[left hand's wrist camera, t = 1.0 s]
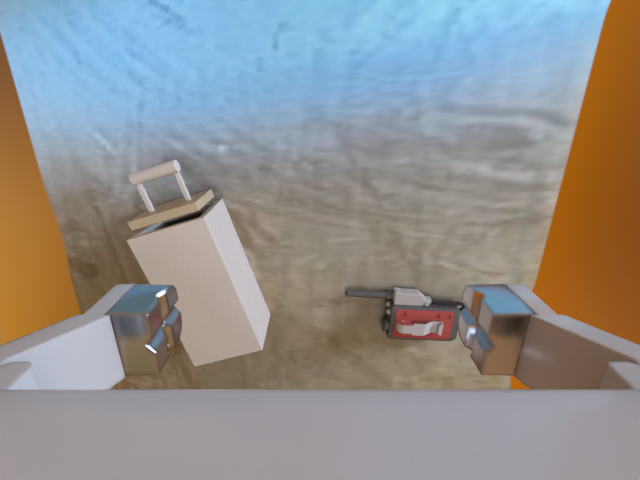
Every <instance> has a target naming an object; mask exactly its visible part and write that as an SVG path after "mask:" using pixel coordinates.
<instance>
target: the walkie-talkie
mask: <svg viewBox="0 0 640 480" xmlns="http://www.w3.org/2000/svg"><path fill="white" fill-rule="evenodd" d="M345 295H346V296H350V297H369V298H386V299H389V301H386V306H388V309H387V310H386V313H387V318H383V319H382V330H383V331H386V334H387V337H388V338H390V339H411V340H415V339H417V340H433V341H434V340H437V341H438V340H439V341H452V340H454V339H455V338H456V335H457V331H458V318H459V312H460V311H461V310H462V309H463V308H464V307H465V305H464V303H462V302H453V301H443V300H442V301H440V300H434V299H431V298H430V297H428V296H425V295H423V294H422V293H421V292H420V291H419V290H417V289H403V288H398V287H394V288H393V291H386V292H376V291H349V290H348V291H346V292H345ZM456 305H461V306H462V308H459V309H458V307H457V306H456Z"/></svg>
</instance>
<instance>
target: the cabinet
mask: <svg viewBox="0 0 640 480" xmlns="http://www.w3.org/2000/svg"><path fill="white" fill-rule="evenodd" d="M203 211H205V212H204V213H203V214H202V215H201V216H200V217H198V218H195V219H192V220H188V221H185V222H181V223H178V224H175V225H171V226H168V227H165V228H161V229H158V230H156V229H157V228H159V227H160V226H161V225H162V224H164V223H166V222H169V221H172V220H176V219H179V218H182V217H186V216H189V215H193V214H196V213H199V212H203ZM127 243H128V244H129V246H130V248H131V250H132V252H133V254H134V255H135V257H136V259H137V261H138V263H139V265H140V267H141V268H142V270H143V272H144V274H145V276H146V278H147V279H148V281H149V283H150V284H155V285H173V286H174V287H175V288H176V290H177V295H178V300H177V302H176V304H175V305H174V306H175V307H176V308H177V309H178V310H179V311H180V312H181V317H182V330H181V335H180V340H181V342H182V344H183V346H184V348H185V350H186V351H187V353H188V355H189V357H190V359H191V361H192V362H193V364H194V366H199V365H203V364H208V363H212V362H216V361H220V360H224V359H228V358H232V357H236V356H240V355H244V354H248V353H252V352H256V351H260V350H262V349H263V345H264V340H265V336H266V332H267V327H268V323H269V318H270V313H269V310H268V308H267V305H266V303H265V301H264V298H263V296H262V293H261V291H260V289H259V286H258V284H257V281H256V279H255V276H254V274H253V272H252V269H251V267H250V264H249V262H248V260H247V257H246V255H245V252H244V250H243V247H242V245H241V243H240V240H239V238H238V235H237V233H236V231H235V228H234V226H233V223H232V221H231V218H230V216H229V214H228V211H227V209H226V206H225V204H224V201H223V199H219V200H216V201H212V202H209V203H207V204H206V205H205V206H203V207H202V208H201V209H200V210H199V211H196V212H193V213H189V214H186V215H183V216H179V217H176V218H173V219H169V220H166V221H163V222H159V223H156V224H153V225H149V226H146V227H144V228H143V229H141V230H140V231H139V232H137V233H136V234H135V235H133V236H132V237H131V238H129V239H128V240H127Z"/></svg>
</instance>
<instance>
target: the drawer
mask: <svg viewBox="0 0 640 480" xmlns="http://www.w3.org/2000/svg"><path fill="white" fill-rule="evenodd" d="M179 171H180V165H179V163H178V162H177V161H176V160H172V161H169V162H166V163H163V164H160V165H156V166H153V167H150V168H147V169H144V170H141V171H138V172H134V173H131V174H129V180H130V182H131V183H132V184H133V185H136V187H137V189H138V191H139V193H140V195H141V197H142V199H143V201H144V203H145V205H146V207H147V209H148V210H146V211H144V212H143V213H141V214H140V215H138V216H137V217H135V218H134V219H132V220H131V221H129V222H128V225H129V227H130V229H131V230H136V229H139V228H142V227H146V226H149V225H153V224H156V223H159V222H163V221H166V220H169V219H173V218H176V217H179V216H183V215H186V214H189V213H193V212H196V211H199V210H200V209H201V208H202V207H203V206H205V205H206V204H207V203H208V202H209V201H210V200H211V199H212V198H213V197H214V194H213V192H212V189H209V190H206V191H202V192H199V193H196V194H192V195H189V192H188V190H187V188H186V186H185V183H184V181H183V179H182V177H181V174H180V172H179ZM173 173H174V175H175V178H176V180H177V182H178V184H179V186H180V189H181V191H182V193H183V195H184V197H183V198H179V199H176V200H173V201H169V202H166V203H163V204H160V205H156V206H153V205H152V203H151V201H150V199H149V197H148V195H147V193H146V191H145V189H144V187H143V185H142V183H144V182H147V181H151V180H154V179H157V178H160V177H163V176H167V175H170V174H173ZM204 212H205V211H203V212H199V213H196V214H193V215H189V216H186V217H182V218H179V219H176V220H172V221H169V222H166V223H164V224H162V225H161V226H160V227H159V228H157V229H156V230H158V229H161V228H165V227H168V226H171V225H175V224H178V223H181V222H185V221H188V220H192V219H195V218H198V217H200V216H201V215H202V214H203V213H204Z"/></svg>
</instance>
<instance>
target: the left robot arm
mask: <svg viewBox="0 0 640 480" xmlns="http://www.w3.org/2000/svg"><path fill="white" fill-rule="evenodd" d="M177 300H178V295H177V290H176V288H175V287H174V286H173V285H155V284H118V285H115V286H114V287H113V288H112V289H111V290H110V291H109V292H107V293H106V294H105V295H104V296H103V297H102V298H101V299H100V300H99V301H97V302H96V303H95V304H94V305H93V306H92V307H91V308H90V309H89V310H87V311H86V312H85V313H84V314H83V315H75V316H73V317H70V318H68V319H65V320H63V321H60V322H58V323H55V324H53V325H50V326H48V327H45V328H43V329H40V330H38V331H35V332H33V333H30V334H28V335H25V336H23V337H20V338H18V339H15V340H13V341H10V342H8V343H5V344H3V345H0V480H640V345H637V344H635V343H632V342H630V341H627V340H625V339H622V338H620V337H617V336H615V335H612V334H610V333H607V332H605V331H602V330H600V329H597V328H595V327H592V326H590V325H587V324H585V323H582V322H580V321H577V320H575V319H572V318H570V317H567V316H565V315H557V314H556V313H555V312H554V311H553V310H552V309H550V308H549V307H548V306H547V305H546V304H545V303H544V302H543V301H542V300H540V299H539V298H538V297H537V296H536V295H535V294H534V293H533V292H532V291H530V290H529V289H528V288H527V287H526V286H525V285H522V284H489V285H467V286H465V288H464V290H463V294H462V300H463V302H464V304H465V305H466V306H465V307H464V308H463V309H462V310H461V311H460V312H459V318H458V330H459V335H460V338H461V341H462V342H463V344H464V346H465V347H467V348H469V349H470V350H472V353H471V358H472V360H473V361H474V363H475V365H476V366H477V368H478V370H479V372H480V373H481V375H512V376H515V378H517V379H518V380H519V381H521V382H522V383H523V384H525V385H526V386H527V387H529V388H530V389H110V388H111V387H113V386H114V385H115V384H117V383H118V382H119V381H121V380H122V379H124V378H125V376H128V375H159V373H160V372H161V370H162V368H163V366H164V365H165V363H166V361H167V360H168V358H169V353H168V350H170V349H171V348H173V347H175V346H176V344H177V342H178V341H179V339H180V335H181V330H182V317H181V312H180V311H179V310H178V309H177V308H176V307H175V306H174V305H175V304H176V302H177Z"/></svg>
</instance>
